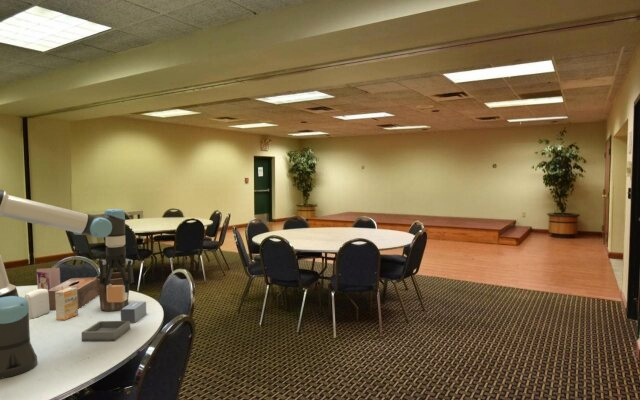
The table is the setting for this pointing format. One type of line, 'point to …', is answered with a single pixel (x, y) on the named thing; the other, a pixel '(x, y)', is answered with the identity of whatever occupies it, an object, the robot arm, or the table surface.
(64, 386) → the table surface
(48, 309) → the photo printer
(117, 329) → the tray
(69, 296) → the supplement box
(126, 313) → the block
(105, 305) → the plant pot
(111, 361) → the table surface
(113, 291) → the stub
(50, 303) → the tissue box cover
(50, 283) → the pink box
